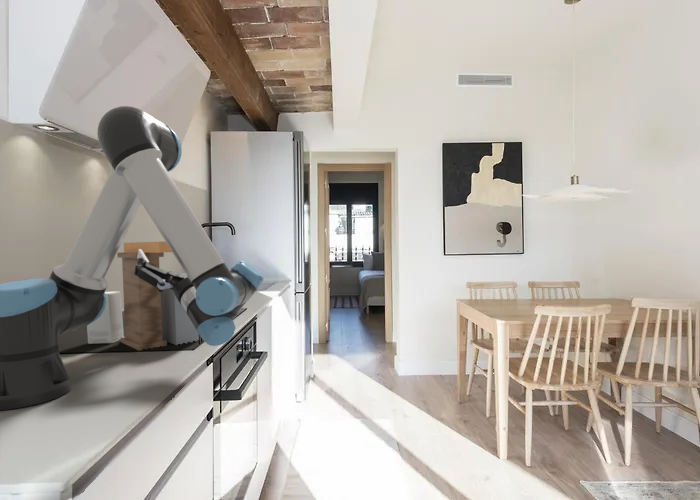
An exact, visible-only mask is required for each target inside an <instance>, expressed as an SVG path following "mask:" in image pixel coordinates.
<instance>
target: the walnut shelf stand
mask: <svg viewBox="0 0 700 500" xmlns="http://www.w3.org/2000/svg"><path fill="white" fill-rule="evenodd" d="M164 253H165V252H163V253H144V254H145V256H146V257H147V259H148V260H149V265H152V266H154V267H157V268H159V269H160V258H163V257H164V256H165V254H164ZM116 255H117V258H120V259H121V260H122V261H121V263H122V264H121V265H122V287H123V288H122V290H123V291H122V292H123V313H124V314H123V315H124V316H123V317H124V337H121V340H120V343H122V344H124V345H126V346H128V347H130V348H132V349H135V350H136V351H143V349H145V350H149V349H148V348H150V349H155V348H159V347H160V346H161V347H165V346H166V347H167V346H168V342H167V340H165V339H162V324H161V296H160V292H159V291H158V290H157V289H156V287H154V286H152V285H151V284H149V283H147V282H146V281H144V280H143V279H141V278H139V277H138V276H136V275H134V272H135V266H136V265H138V264H137V262H138V259H137V255H138V253H136V252H124V251H123V252H122V251H121V252H117V253H116ZM154 347H155V348H154Z"/></svg>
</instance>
